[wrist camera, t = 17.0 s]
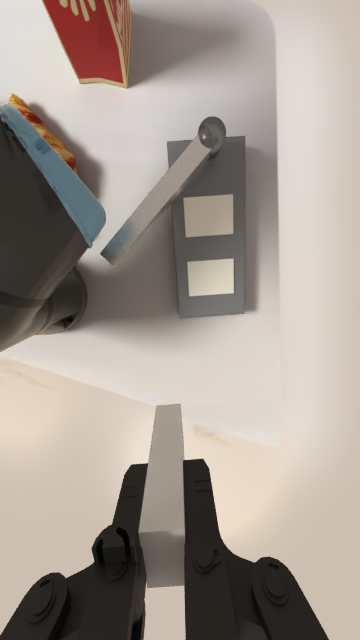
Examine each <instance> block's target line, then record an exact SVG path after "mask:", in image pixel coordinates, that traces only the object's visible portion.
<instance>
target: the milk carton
mask: <svg viewBox="0 0 360 640" xmlns="http://www.w3.org/2000/svg"><path fill="white" fill-rule="evenodd" d="M42 2H43V4H44V6H45V9H46V11H47V13H48V15H49V18H50V20H51V22H52V24H53V27H54V29H55V31H56V33H57V35H58V38H59V40H60V42H61V44H62V47H63V49H64V51H65V53H66V55H67V57H68V59H69V62H70V64H71V66H72V68H73V70H74V72H75V74H76V76H77V78H78V80H79V82H80V83H91V82H103V83H107V84H111V85H115V86H119V87H123V88H127V87H128V74H129V60H130V42H131V18H132V12H131V8H130V4H129V0H42Z"/></svg>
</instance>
